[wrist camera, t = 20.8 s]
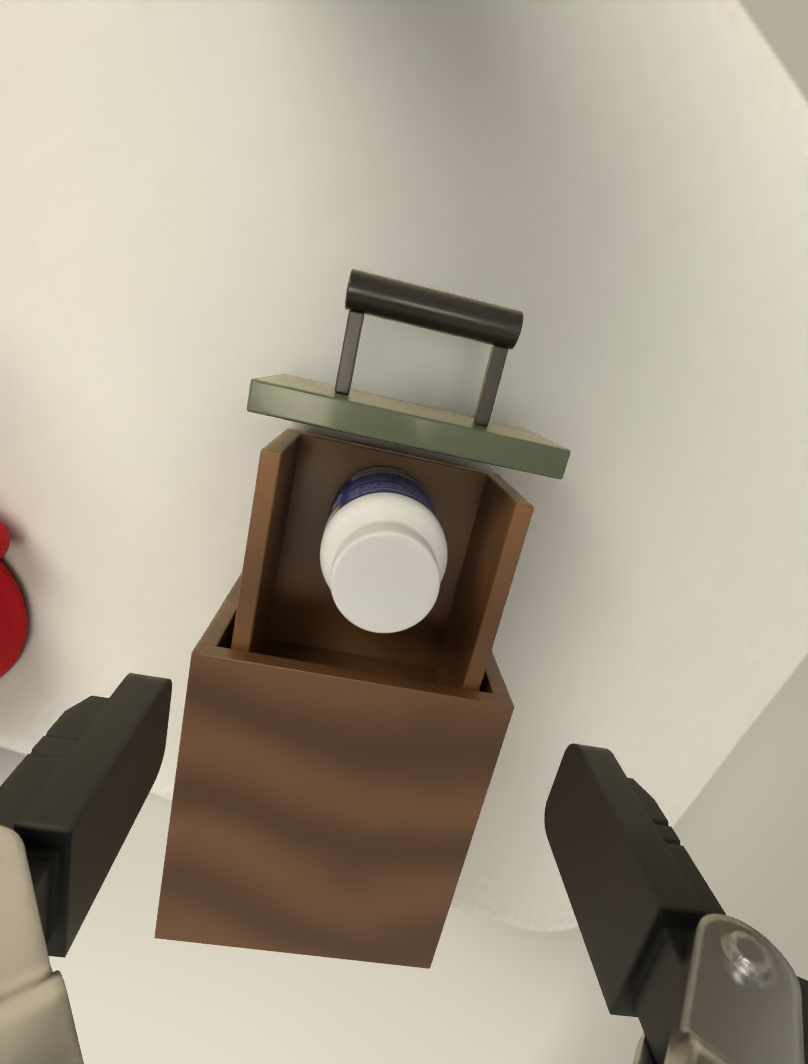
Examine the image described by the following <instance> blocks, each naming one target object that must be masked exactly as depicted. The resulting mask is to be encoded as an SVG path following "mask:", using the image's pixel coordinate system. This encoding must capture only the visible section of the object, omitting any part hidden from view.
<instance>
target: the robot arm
mask: <svg viewBox="0 0 808 1064" xmlns="http://www.w3.org/2000/svg"><path fill="white" fill-rule="evenodd" d="M171 692H172V682H171V680H170V679H166V678H159V677H153V676H147V675H140V674H134V673H129V674H128V675H127V676H126V677H125V678H124V680H123V681H122V682H121V684H120V685H119V686H118V687H117V689H116V690H115V691H114V693H113V694H112V695H111V697H110V698H104V697H98V696H90V697H88V698H87V699H85V700H83V701H82V702H80V703H78V704H76V705H75V706H73V707H71V708H70V709H68V710H66V711H65V712H64V713H63V714H62V715H61V716H60V717H59V719H58V720H57V721H56V722H55V723H54V724H53V726H52V727H51V728H50V729H49V730H48V731H47V734H46V736H43V737H42V738H41V740H40V741H39V742H38V743H37V744H36V745H35V747H34V748H33V749H32V752H31V754H28V755H27V756H26V757H25V758H24V759H23V761H22V762H21V763H20V764H19V765H18V766H17V768H16V769H15V770H14V771H13V772H12V774H11V775H10V776H9V777H8V778H7V779H6V780H5V782H4V783H3V784H2V785H1V786H0V1064H84V1063H83V1059H82V1054H81V1050H80V1045H79V1041H78V1037H77V1032H76V1028H75V1024H74V1019H73V1015H72V1011H71V1007H70V1002H69V998H68V994H67V990H66V986H65V983H64V980H63V978H62V975H61V973H60V971H58V970H57V971H55V972H53V971H52V968H51V966H50V961H49V957H48V956H56V957H65V956H66V954H67V952H68V951H69V948H70V947H71V945H72V943H73V941H74V939H75V937H76V935H77V933H78V931H79V929H80V927H81V925H82V923H83V921H84V919H85V917H86V915H87V913H88V911H89V909H90V907H91V905H92V903H93V901H94V900H95V898H96V895H97V894H98V892H99V890H100V888H101V886H102V884H103V882H104V880H105V878H106V876H107V874H108V872H109V870H110V868H111V866H112V864H113V862H114V860H115V858H116V856H117V855H118V852H119V851H120V849H121V847H122V845H123V843H124V841H125V839H126V837H127V835H128V833H129V831H130V829H131V827H132V825H133V823H134V821H135V819H136V817H137V815H138V813H139V811H140V809H141V807H142V806H143V803H144V801H145V799H146V798H147V796H148V794H149V792H150V790H151V788H152V786H153V784H154V782H155V780H156V777H157V775H158V772H159V770H160V767H161V763H162V760H163V756H164V751H165V746H166V737H167V728H168V719H169V710H170V701H171ZM545 830H546V835H547V838H548V841H549V844H550V846H551V849H552V852H553V855H554V858H555V861H556V863H557V866H558V869H559V872H560V875H561V877H562V880H563V883H564V886H565V889H566V891H567V894H568V897H569V900H570V903H571V906H572V908H573V911H574V914H575V917H576V920H577V922H578V925H579V928H580V931H581V934H582V936H583V939H584V942H585V945H586V948H587V951H588V953H589V956H590V959H591V962H592V964H593V967H594V970H595V973H596V976H597V979H598V981H599V984H600V987H601V990H602V993H603V996H604V998H605V1001H606V1004H607V1007H608V1010H609V1012H610V1014H612V1015H622V1016H632V1017H638V1018H639V1020H640V1023H641V1026H642V1028H643V1030H644V1032H643V1034H642V1036H641V1038H640V1040H639V1042H638V1045H637V1048H636V1052H635V1057H634V1061H633V1064H808V981H807V980H804V979H802V978H800V977H798V976H796V974H795V972H794V970H793V969H792V967H791V966H790V964H789V962H788V961H787V960H786V958H785V957H784V956H783V955H782V953H781V952H780V951H779V950H778V949H777V948H776V947H775V946H774V945H773V944H772V943H771V942H770V941H769V940H768V939H767V938H766V937H764V936H763V935H762V934H760V933H759V932H758V931H756V930H755V929H753V928H752V927H751V926H749V925H747V924H746V923H744V922H742V921H740V920H738V919H735V918H733V917H730V916H727V915H726V914H725V912H724V910H723V909H722V907H721V906H720V904H719V903H718V901H717V899H716V898H715V896H714V895H713V893H712V891H711V890H710V888H709V886H708V885H707V883H706V882H705V880H704V878H703V877H702V875H701V874H700V872H699V870H698V869H697V867H696V866H695V864H694V862H693V861H692V859H691V858H690V856H689V854H688V853H687V851H686V850H685V848H684V846H681V845H680V840H679V838H678V837H677V835H676V833H675V832H674V830H673V829H672V827H670V826H668V821H667V819H666V817H665V816H664V814H663V813H662V811H661V809H660V808H659V806H658V805H657V803H656V801H655V800H654V799H653V798H652V797H651V796H650V795H649V794H648V793H647V792H646V791H645V790H644V789H643V788H642V787H641V786H640V785H639V784H638V783H637V782H636V781H635V780H634V779H632V778H627V777H626V775H625V773H624V772H623V770H622V768H621V767H620V765H619V763H618V762H617V760H616V758H615V757H614V755H613V753H612V752H611V751H610V750H608V749H605V748H599V747H592V746H586V745H580V744H570V745H569V746H568V747H567V749H566V751H565V753H564V756H563V758H562V761H561V764H560V766H559V769H558V772H557V775H556V777H555V780H554V783H553V786H552V788H551V791H550V794H549V797H548V799H547V802H546V807H545Z"/></svg>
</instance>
